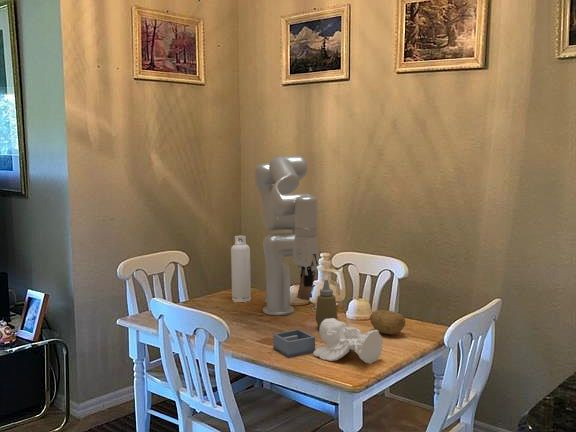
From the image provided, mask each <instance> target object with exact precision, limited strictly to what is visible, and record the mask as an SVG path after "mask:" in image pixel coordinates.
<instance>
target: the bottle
mask: <svg viewBox="0 0 576 432" xmlns="http://www.w3.org/2000/svg"><path fill="white" fill-rule="evenodd" d="M230 263H231V266H230V268H231V294H232V295H231V300H233V301H234V302H233V301H232V302H233V303H237V302H244V303H248V302H247V301H249V302H251V301H252V296H251V294H252V293H251V292H252V291H251V289H252V287H251V282H252V281H251V248H250V246H249V245H248V244H247V238H246V235H235V236H234V244H233V245H232V246H231V247H230ZM236 298H237V299H236ZM250 300H251V301H250Z"/></svg>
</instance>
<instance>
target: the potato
mask: <svg viewBox="0 0 576 432" xmlns="http://www.w3.org/2000/svg"><path fill="white" fill-rule="evenodd" d="M369 318H370V324H371V325H372V327H373V328H374V330H378V331H379V333H382V334H384V335H396V334H398V333H400V332H401V331H402V330H403V329H404V328H405V326H406V319H405V317H404V316H403V315H402V314H401V313H398V312H395V311H392V310H385V309H377V310H375V311H372V312H371V313H370V317H369Z"/></svg>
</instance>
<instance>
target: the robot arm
mask: <svg viewBox="0 0 576 432" xmlns="http://www.w3.org/2000/svg"><path fill="white" fill-rule="evenodd" d="M307 173H308V163H307V161H306V160H305V158H304V156H301V155H278V156H274V157H273V158H271V160H270V161H269V162H266V163H260V164H258V165H257V166H256V167H255V169H254V182H255V186H256V189H257V191H258V193H259V196H260V199H261V205H262V215H263V221H264V222H263V223H264V226H265V228H266V229H267V230H268V231H271V232H274V231H275V232H279V231H280V233H270V234H269V235H267V236H265V237H264V239H263V242H262V247H263V252H264V253H263V254H264V257H265V258H264V259H265V260H264V261H265V281H266V282H265V284H266V286H265V287H266V289H265V290H266V291H265V293H266V298H265V300H264V302H265V303H266V306H264V307H263V308H262V312H263V313H264V314H266V315H268V316H269V315H270V316H286V315H291V314H293V313H294V312H295V307H293V306H292V305H291V274H290V273H291V270H290V266H289V265H288V263H287V262H286V261H285V260H284V258H290V257H291V258H292V261H293V263H294V264H295V265H296V266H297V267H298V269H299V274H300V279H299V280H300V281H301V277H302V272H303V269H305V275H304V286H305V287H308V286H314V282H313V274H314V272H317V271H318V266H319V263H320V260H319V259H320V257H319V256H320V254H319V253H320V252H319V240H318V199H317V197H316V196H314V195H311V194H310V193H293V192H294V191H296V190H298V189H297V188H299V185H300V181H301V180H302V179H303V178H304V177H305V176H306V175H307ZM281 231H290V232H282V233H281Z"/></svg>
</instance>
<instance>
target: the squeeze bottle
mask: <svg viewBox="0 0 576 432" xmlns="http://www.w3.org/2000/svg"><path fill="white" fill-rule="evenodd" d="M322 287H323V288H320V289H319V295H318V296H317V298H316V299H317V300H316V309H315V322H316V325H317V327H318V329H319V330H320V325H321V322H322V321H323V320H325V319H330V318H335V319H336V320H338V310H337V309H338V308H337V301H336V296H335V295H334V293H333V292H334V290H333V289H331V288H330V284H329V279H324V283H323V286H322ZM338 321H339V320H338Z"/></svg>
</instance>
